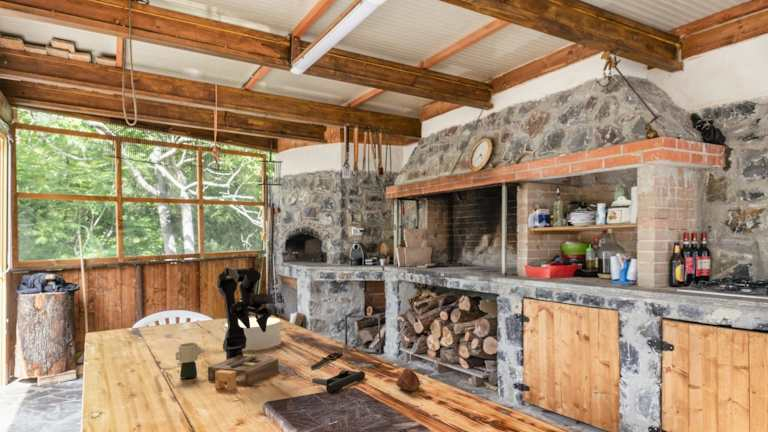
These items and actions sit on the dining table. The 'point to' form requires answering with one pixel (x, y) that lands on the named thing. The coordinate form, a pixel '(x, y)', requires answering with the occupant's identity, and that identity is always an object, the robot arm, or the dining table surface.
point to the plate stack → (261, 334)
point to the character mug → (188, 359)
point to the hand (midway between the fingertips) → (256, 330)
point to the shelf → (252, 372)
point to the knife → (326, 360)
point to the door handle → (340, 380)
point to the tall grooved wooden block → (225, 379)
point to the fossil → (408, 380)
